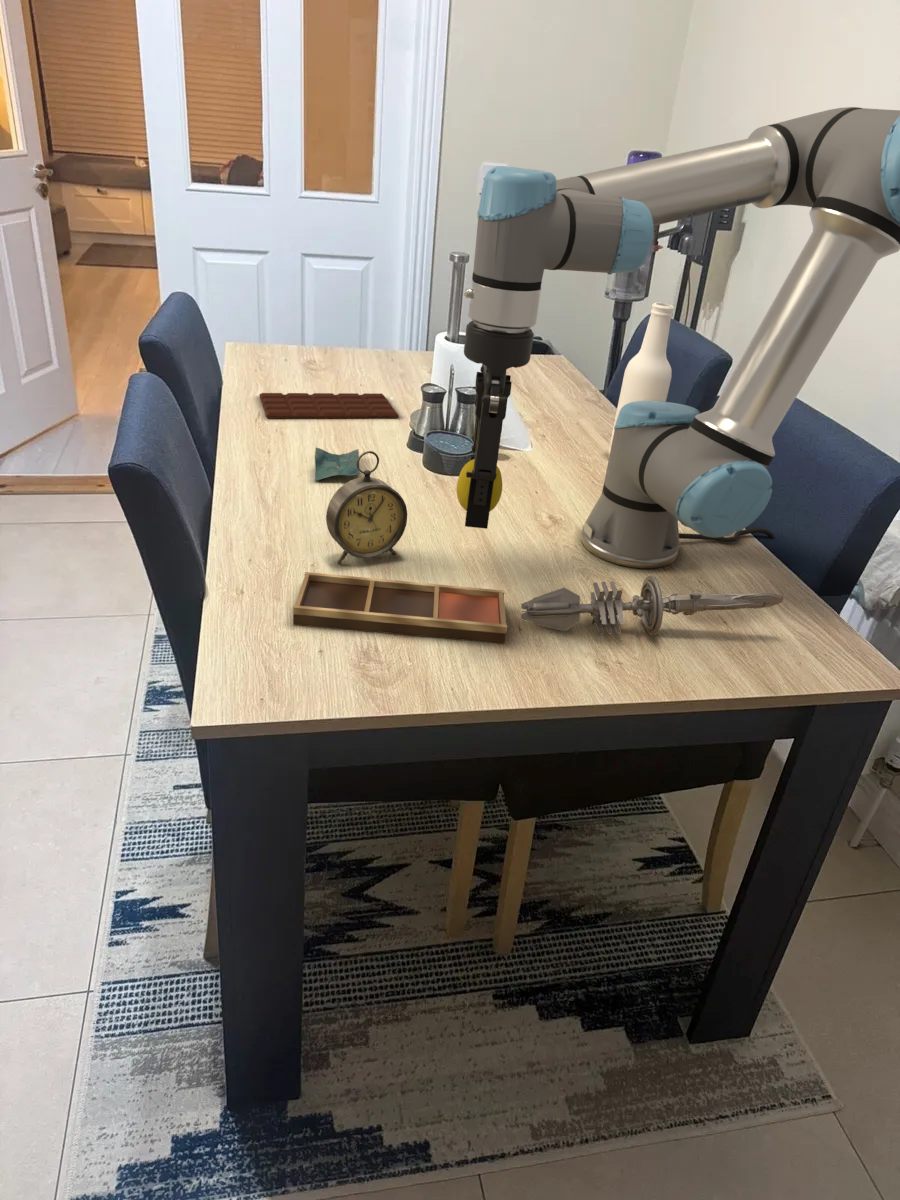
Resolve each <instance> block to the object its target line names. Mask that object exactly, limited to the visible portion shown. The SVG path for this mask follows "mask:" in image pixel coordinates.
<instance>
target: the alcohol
mask: <svg viewBox="0 0 900 1200" xmlns="http://www.w3.org/2000/svg"><path fill="white" fill-rule="evenodd" d="M651 307H652V308H651V309H650V316H649V319H648V322H647V327H646V330H645V332H644V336H643V340H642V343H641V346H640V349H639V350H638V353H636V354H635V355H634V356H633V357H632V358H631V359H630V360H629V361H628V363H627V365H626V367H625V369H624V374H623V378H622V383H621V388H620V392H619V398H618V402H617V407H616V411H615V417H614V422H613V427H612V432H611V437H610V441H609V446H608V455H609V456H610V451H611V446H612V441H613V436H614V431H615V429H614V426H615V424H616V421H617V418H618V415H619V412H620V409H621V408H622V407H623V406H624V405H626V404H628V403H631V402H635V401H661V402H667V398H668V394H669V390H670V385H671V381H672V375H673V373H672V371H673V369H672V366H671V364H670V362H669V360H668V358H667V348H668V342H669V334H670V327H671V322H672V321H671V320H672V317H673V316H674V313H673V311H674V309H675V306H673V305H672V304H670V303H666V302H658V301H656V302H654V303H652V304H651Z"/></svg>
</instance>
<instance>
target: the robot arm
mask: <svg viewBox="0 0 900 1200" xmlns="http://www.w3.org/2000/svg"><path fill="white" fill-rule="evenodd" d="M750 204H752V205H753V206H754V207H755V208H758V209H769V208H773V207H777V206H798V207H808V208H810V210H809V217H810V221H811V225H812V232H811V234H810V236H809V238H808V239H807V241H806V243H805V244H804V246H803V248H802V250H801V251H800V253H799V255H798V256H797V259H796V260H795V262H794V264H793V266H792V267H791V270H790V271H789V273H788V274H787V276H786V278H785V280H784V281H783V283H782V285H781V287H780V289H779V291H778V292H777V294H776V296H775V298H774V299H773V301H772V303H771V305H770V307H769V308H768V310H767V311H766V314H764V315H765V316H764V317H763V319H762V320H761V322H760V324H759V326H758V328H757V330H756V331H755V333H754V335H753V336H752V338H751V340H750V342H749V344H748V345H747V347H746V349H745V350H744V353H743V354H742V355H741V358H740V360H739V361H738V363H737V365H736V366H735V368H734V370H733V372H732V374H731V376H730V378H729V379H728V380H727V383H726V384H725V386H724V388H723V390H722V391H721V393H720V395H719V397H718V399H717V400H716V402H715V404H714V405H713V407H712V408H710V409H709V410H706V411H703V412H700V410H698V409H697V408H695V407H693V406H690V405H687V404H686V405H685V404H682V403H676V402H670V401H666V402H661V401H635V402H631V403H628V404H626V405H624V406H623V407H622V408H621V409H620V412H619V415H618V418H617V421H616V424H615V426H614V425H613V426H614V429H615V431H614V436H613V441H612V446H611V451H610V455H609V456H608V461H607V465H606V471H605V476H604V482H603V487H602V490H601V494H600V496H599V498H598V499H597V502H596V503H595V505H594V506H593V507H592V510H591V511H590V513H589V515H588V516H587V519H586V520H585V521H584V524H583V527H582V531H581V535H580V537H581V538H580V539H581V540H580V541H581V542H582V545H583V546H584V547H585V548H586V549H587V550H588V551H589V552H590V553H592V554H593V555H595V556H596V557H598V558H600V559H602V560H605V561H607V562H609V563H613V564H616V565H618V566H619V565H620V566H623V567H628V568H636V569H657V568H662V567H666V566H668V565H670V564H672V563H673V562H675V560H676V559H677V557H678V554H679V551H680V540H681V539H683V540H685V539H686V540H705V541H715V542H720V543H728V544H730V543H734V542H737V541H738V540H739V538H740V537H741V536H745V535H751V534H764V535H766V536H767V537H768V538H769V539H776V536H775V534H774V533H773V532H772V531H770V530H769V529H767V528H765V527H750V528H747V527H749V526H750V525H751V524H752V523H754V522H755V521H756V520H757V519H758V518H759V517H760V515H762V513H763V512H764V510H765V509H766V507H767V506H768V503H769V502H770V499H771V497H772V493H773V489H772V486H773V479H772V476H771V473H769V470H768V468H769V466H770V464H771V463H772V461H773V460H774V458H775V456H776V451H775V447H774V444H773V437H774V435H775V433H776V432H777V430H778V429H779V427H780V425H781V423H782V422H783V420H784V418H785V417H786V415H787V413H788V412H789V410H790V409H791V407H792V405H793V403H794V402H795V400H796V398H797V397H798V395H799V393H800V392H801V390H802V388H803V386H804V385H805V383H806V382H807V380H808V378H809V377H810V375H811V373H812V372H813V370H814V368H815V367H816V365H817V363H818V362H819V360H820V358H821V356H822V355H823V353H824V352H825V350H826V348H827V347H828V344H830V342H831V340H832V338H833V337H834V335H835V333H836V332H837V330H838V328H839V327H840V325H841V323H842V322H843V320H844V318H845V316H846V315H847V313H848V311H849V310H850V308H851V307H852V305H853V303H854V302H855V300H856V298H857V296H858V295H859V293H860V292H861V289H862V288H863V286H864V285H865V283H866V281H867V280H868V279H869V276H870V275H871V273H872V271H873V270H874V268H875V266H876V265H877V264H878V262H879V261H880V260H882V259H883V258H885V257H889V256H891V255H893V254H896V253H898V252H900V110H897V109H882V108H868V107H867V108H866V107H865V108H864V107H857V106H845V107H837V108H832V109H827V110H822V111H819V112H815V113H811V114H806V115H803V116H799V117H796V118H791V119H788V120H784V121H780V122H776V123H772V124H767V125H762V126H760V127H757V128H755V129H754V130H753V131H752V132H751V133H750V135H749V136H748V137H747V138H744V139H740V140H736V141H730V142H726V143H721V144H717V145H712V146H707V147H703V148H698V149H693V150H689V151H685V152H680V153H676V154H671V155H667V156H662V157H657V158H652V159H648V160H643V161H639V162H633V163H629V164H625V165H621V166H615V167H611V168H606V169H602V170H597V171H593V172H588V173H583V174H580V175H577V176H569V177H564V178H562V179H557V178H556V176H555V174H554V173H553V172H549V171H545V170H538V169H532V168H524V167H523V168H522V167H516V166H504V165H500V166H494V167H491V168H489V170H487V172H486V174H485V176H484V179H483V184H482V188H481V193H480V199H479V206H478V210H477V225H476V226H477V228H476V239H475V248H474V249H475V250H474V259H473V270H472V276H471V281H472V282H471V288H466V289H465V290H464V297H465V298H467V299H470V300H469V304H468V305H469V306H468V318H470V320H471V321H469V323H468V324H466V326H465V337H464V343H463V344H464V346H463V355H464V357H465V358H466V359H467V360H469V361H470V362H473V363H474V364H479V365H480V364H481V366H480V370H479V371H476V373H475V374H476V375H475V398H474V407H475V413H474V415H475V421H474V430H473V435H472V437H471V440H472V445H471V452H472V453H471V455H470V461H471V460H473V459H474V468H473V470H472V472H467V473H466V477H469V478H471V480H470V488H469V496H468V504H467V511H465V521H464V527H467V528H474V529H475V528H476V529H486V530H487V529H488V525H489V519H490V512H491V511H490V505H491V498H492V491H493V484H494V481H495V478H496V476H497V473H496V468H497V467H498V459H499V453H500V444H501V438H502V430H503V422H504V420H505V419H506V415H507V407H508V399H509V398H510V396H511V393H512V384H513V382H512V381H511V378H512V376H511V375H510V374H507V370H509V369H511V368H514V369H517V368H522V367H525V366H527V365H528V364H529V362H530V360H531V356H532V348H533V342H534V336H535V333H534V331H533V330H532V329H531V328H532V327H535V325H536V324H537V320H538V313H539V306H540V300H541V294H542V293H541V292H542V282H543V277H544V272H545V270H548V271H558V270H559V271H570V272H572V271H573V272H587V273H602V274H607V275H612V274H627V273H628V274H629V273H633V272H635V271H637V270H638V269H640V268H641V266H642V265H643V264H644V263H645V261H646V260H647V258H648V256H649V254H650V251H651V249H652V243H653V239H654V235H655V233H654V230H655V229H654V228H655V227H654V226H660V225H663V224H668V223H672V222H676V221H677V222H678V221H681V220H685V219H690V218H694V217H697V216H701V215H702V216H703V215H707V214H710V213H715V212H719V211H724V210H728V209H732V208H736V207H741V206H744V205H750ZM679 523H680V524H681V525H682V526H684V527H685V528H689V529H691V530H693V531H694V532H696V533H684V532H683V533H682V532H679ZM731 535H733V536H731ZM729 536H731V537H729Z"/></svg>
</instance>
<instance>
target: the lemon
mask: <svg viewBox="0 0 900 1200" xmlns="http://www.w3.org/2000/svg"><path fill="white" fill-rule="evenodd" d="M473 468H474V459H473V460H471V459H470V460H469V461H468V462H467V463H465V464H464V466H462V468H461V470H460V472H459V475H458V478H457V481H456V496H457V500H458V503H459V505H460V506H461V507H462V508H463V509H464V511H465V512H467V504H468V496H469V488H470V480H471V478H469V477H466V473H467V472H472V470H473ZM496 473H497V476H496V478H495V481H494V484H493V491H492V498H491V505H490V512H492V511H493V510H494V509H495V508H496V507H497V506H498V504H499V502H500V500H501V497H502V493H503V477H502V473H501V470H500V468H499V467H498V466H497V468H496Z"/></svg>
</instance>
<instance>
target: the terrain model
mask: <svg viewBox="0 0 900 1200" xmlns="http://www.w3.org/2000/svg"><path fill="white" fill-rule="evenodd" d="M359 456H360V451H359V449H358V448H357V449H354V450H352V451H350V452H347V453H342V454H336V453H331V452H328V451H326V450H324V449H323V448H319V447H315V452H314V460H315V461H314V462H315V464H314V465H315V471H314V481H320V480H322V479H327V478H330V477H334V476H335V477H336V476H347V477H348V476H356V475H359V474H361V472H360V471H359V470H358V468H357V459H358V458H359Z"/></svg>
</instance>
